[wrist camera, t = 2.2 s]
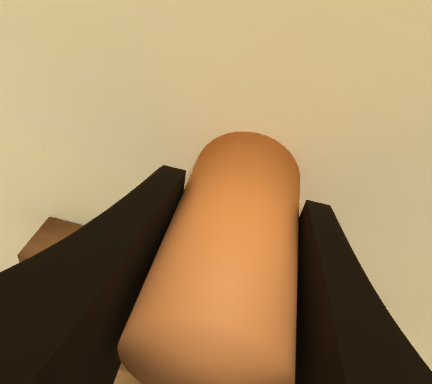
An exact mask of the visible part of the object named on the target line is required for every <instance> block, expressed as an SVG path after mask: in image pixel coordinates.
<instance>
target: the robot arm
mask: <svg viewBox="0 0 432 384" xmlns="http://www.w3.org/2000/svg"><path fill="white" fill-rule="evenodd" d="M185 174H186V170H182V169H178V168H173V167H169V166H165V165H163V166H162V167H160V168H159V169H157V170H156V171H155V172H154V173H153V174H152V175H150V176H149V177H148V178H147V179H146V180H144V181H143V182H142V183H141V184H140V185H138V186H137V187H136V188H135V189H133V190H132V191H131V192H130V193H128V194H127V195H126V196H124V197H123V198H122V199H121V200H119V201H118V202H117V203H115V204H114V205H113V206H111V207H110V208H109V209H107V210H106V211H104V212H103V213H102V214H100V215H99V216H97V217H96V218H94V219H93V220H91V221H90V222H88V223H87V224H85V225H84V226H82V227H81V228H79V229H78V230H76V231H75V232H73V233H72V234H70V235H68V236H67V237H65V238H63V239H62V240H60V241H58V242H57V243H55V244H53V245H51V246H50V247H48V248H46V249H44V250H43V251H41V252H39V253H37V254H35V255H34V256H32V257H30V258H28V259H26V260H24V261H22V262H20V263H18V264H16V265H14V266H12V267H10V268H8V269H6V270H4V271H2V272H0V384H114V381H115V379H116V376H117V373H118V370H119V368H120V365H121V360H120V358H119V355H118V350H117V349H118V343H119V340H120V338H121V335H122V333H123V331H124V328H125V326H126V324H127V321H128V319H129V317H130V314H131V312H132V310H133V307H134V305H135V303H136V301H137V298H138V296H139V294H140V291H141V289H142V287H143V284H144V282H145V280H146V277H147V275H148V273H149V270H150V268H151V266H152V263H153V261H154V259H155V257H156V254H157V252H158V250H159V247H160V245H161V243H162V240H163V238H164V236H165V233H166V231H167V229H168V226H169V224H170V222H171V219H172V217H173V215H174V212H175V210H176V208H177V206H178V203H179V201H180V199H181V196H182V194H183V191H184V183H185ZM295 384H432V371H431V370H430V369H429V367H428V366H427V365H426V363H425V362H424V361H423V360H422V358H421V357H420V356H419V354H418V353H417V351H416V350H415V349H414V347H413V346H412V345H411V343H410V342H409V340H408V339H407V338H406V336H405V335H404V334H403V332H402V331H401V330H400V328H399V327H398V325H397V324H396V322H395V321H394V319H393V318H392V316H391V315H390V313H389V312H388V310H387V309H386V307H385V305H384V304H383V302H382V301H381V299H380V298H379V296H378V294H377V293H376V291H375V289H374V288H373V286H372V284H371V283H370V281H369V279H368V277H367V276H366V274H365V272H364V270H363V268H362V267H361V265H360V263H359V261H358V259H357V258H356V256H355V254H354V252H353V250H352V248H351V246H350V244H349V242H348V240H347V238H346V236H345V234H344V232H343V230H342V228H341V226H340V224H339V222H338V220H337V218H336V216H335V214H334V212H333V210H332V208H331V206H330V205H326V204H322V203H318V202H313V201H309V200H306V202H305V205H304V207H303V210H302V212H301V214H300V217H299V234H298V276H297V318H296V360H295Z"/></svg>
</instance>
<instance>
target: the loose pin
mask: <svg viewBox="0 0 432 384" xmlns="http://www.w3.org/2000/svg"><path fill="white" fill-rule="evenodd" d="M299 193H300V173H299V169H298V166H297V163H296V161H295V159H294V157H293V156H292V155H291V153H290V152H289V151H288V150H287V149H286V148H285V147H284V146H283V145H281V144H280V143H279V142H277V141H276V140H274V139H272V138H270V137H268V136H265V135H262V134H258V133H253V132H234V133H228V134H225V135H222V136H220V137H218V138H216V139H214V140H213V141H211V142H210V143H209V144H208V145H206V146H205V148H204V149H203V150H202V152H201V153H200V155H199V157H198V159H197V162H196V164H195V166H194V168H193V171H192V173H191V175H190V178H189V180H188V182H187V185H186V187H185V189H184V192H183V194H182V196H181V199H180V201H179V203H178V206H177V208H176V210H175V212H174V215H173V217H172V219H171V222H170V224H169V226H168V229H167V231H166V233H165V236H164V238H163V240H162V243H161V245H160V247H159V250H158V252H157V254H156V257H155V259H154V261H153V263H152V266H151V268H150V270H149V273H148V275H147V277H146V280H145V282H144V284H143V287H142V289H141V291H140V294H139V296H138V298H137V301H136V303H135V305H134V307H133V310H132V312H131V314H130V317H129V319H128V321H127V324H126V326H125V328H124V331H123V333H122V335H121V338H120V340H119V343H118V349H117V350H118V355H119V358H120V360H121V362H122V364H123V365H124V367H125V368H126V369H127V370H128V372H129V373H130V374H131V375H132V376H133V377H135V378H136V379H137V380H138V381H140V382H141V383H142V384H295V360H296V318H297V276H298V234H299Z"/></svg>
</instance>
